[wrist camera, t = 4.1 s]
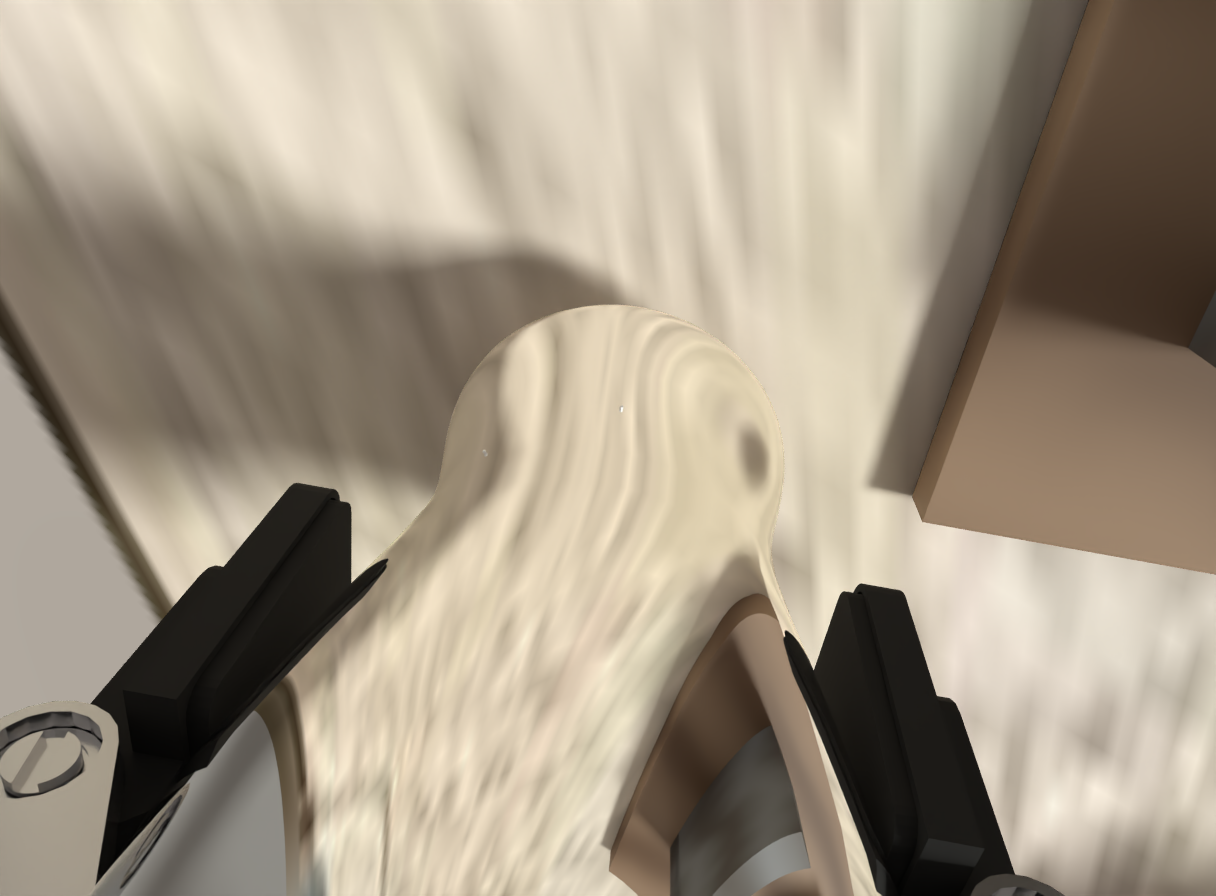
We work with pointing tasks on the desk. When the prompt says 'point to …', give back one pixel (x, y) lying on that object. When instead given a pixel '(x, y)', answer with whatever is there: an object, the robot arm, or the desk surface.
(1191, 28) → the u rest
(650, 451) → the beer glass
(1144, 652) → the desk surface
